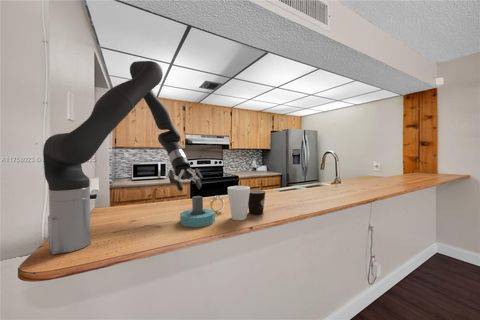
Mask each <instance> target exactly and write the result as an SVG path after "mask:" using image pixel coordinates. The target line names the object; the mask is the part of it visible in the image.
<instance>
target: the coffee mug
mask: <svg viewBox="0 0 480 320" xmlns="http://www.w3.org/2000/svg"><path fill="white" fill-rule="evenodd" d="M265 197H266V191H265V190H262V189H250V194H249V201H248V214H249V215H252V216H261V215H263V214H264V208H265V199H266V198H265Z"/></svg>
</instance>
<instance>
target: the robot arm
mask: <svg viewBox="0 0 480 320" xmlns="http://www.w3.org/2000/svg"><path fill="white" fill-rule="evenodd" d="M129 73H130V76H131V79H129V80H126V81H124V82H121V83H120V84H117V85H115V86H113V87H112V88H109V90H107V91H106V92H104V94H103V95H102V96H101V97H99V98H98V100H97V101H96V102H95V104H94V105H93V108H92V111H91V114H90V115H89V117H88V118H87V119H86V120H85V121H84V122H82V123H81V124H80V125H79V126H77V127H76V128H75V129H73V130H72V131H70V132H63V133H56V134H53V135H51V136H50V137H48V138H47V139H46V140H45V142H44V143H43V144H44V145H43V150H42V156H43V158H42V159H43V168H44V169H43V170H44V178H45V180H46V182H47V185H48V211H49V213H48V216H47V240H48V250H49V251H50V252H49V253H51V255H52V256H53V255H58V254H66V253H71V252H75V251H78V250H82V249H83V248H85V247H87V246H89V245H90V244H91V242H92V241H91V240H92V237H91V236H92V234H91V197H90V196H91V193H90V192H91V191H90V189H91V188H90V183H91V182H90V179H89V177H88V176H87V175H86V174H85V173H84V171H83V168H82V164H85V163H87V162H88V161H90V160H91V159H92V158H93V157H94V156H95V155H96V153H97V152H98V150H99V149H100V147H101V146H102V145H103V143H104V142H105V140H106V139H107V138H108V136H109V135H110V134H111V132H113V131H114V130H115V128H117V127H118V126H119V124H120V123H121V122H122V121H123V120H124V119H125V118H126V117H127V116H128V115H129V114H130V113H131V112H132V110H133V109H134V108H135V107H136V106H137V105H138V104H139V103H140V102H141V101H142V100H144V101H145V103H146V105H147V106H148V109H149V110H150V112H151V115H152V117H153V120H154V122H155V125H156V127H157V129H158V130H160V131H164V132H161V133H159V134H158V137H157V140H158V142H159V144H160V145H161V146H162V148H163V149H164V150H166V153H167V155H168V158H169V161H170V164H171V167H172V169H169V170H168V173H167V177H168V179H169V184H170V185H175V186H176V188H177V191H179V192H182V191H183V189H184V187H183V184H182V181H185V180H190V181H193V182H195V186H196V187H197V189H198V190H201V189H202V187H203V186H202V183H201V181H202V179H203V175H202V173H201V171H200V170H199V168H195V169H192V168H191V164H190V162H189V160H188V157H187V155H186V153H185V152H184V150H183V148H182V146H181V143H180V142H181V134H180V133H179V131H178V130H177V129H176V128H175V126H174V123H173V122H172V119H171V116H170V114H169V111H168V109H167V108H166V106H165V104H163V102H162V101H161V100H160V99H159V97H157V96H156V94H155V93H154V91H153V89H155V87H157V86H158V85H159V84H160V83H161V82H162V79H163V75H164V74H163V73H164V72H163V69H162V67H161V65H160V64H159V63H158V62H156V61H153V60H139V61H133V62H132V63H130V67H129ZM174 175H175V176H176V177H177V178H175V176H174ZM180 180H182V181H180Z"/></svg>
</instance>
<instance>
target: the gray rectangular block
mask: <svg viewBox="0 0 480 320" xmlns="http://www.w3.org/2000/svg"><path fill="white" fill-rule="evenodd" d="M191 198H192V199H191V200H192V201H191V202H192V207H191V208H192V212H193V215H202V214H203V209H204V207H203V205H204V204H203V203H204V202H203V201H204V200H203V199H204V198H203V196H201V195H196V196H192V197H191Z"/></svg>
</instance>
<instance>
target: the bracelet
mask: <svg viewBox="0 0 480 320" xmlns="http://www.w3.org/2000/svg"><path fill="white" fill-rule="evenodd" d="M217 200H220V201H221V203H222V204H221V208H220V209H219V210H214V209H213V204H214V203H215V202H216V201H217ZM225 204H226V203H225V200H224V198H223V197H221V195H215V196H213V197H212V198H211V200H210V202H209V208H210V210H213V211H214V212H215V214H216V213H217V214H219V213H220V212H222V211H223V210H224V208H225Z"/></svg>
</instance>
